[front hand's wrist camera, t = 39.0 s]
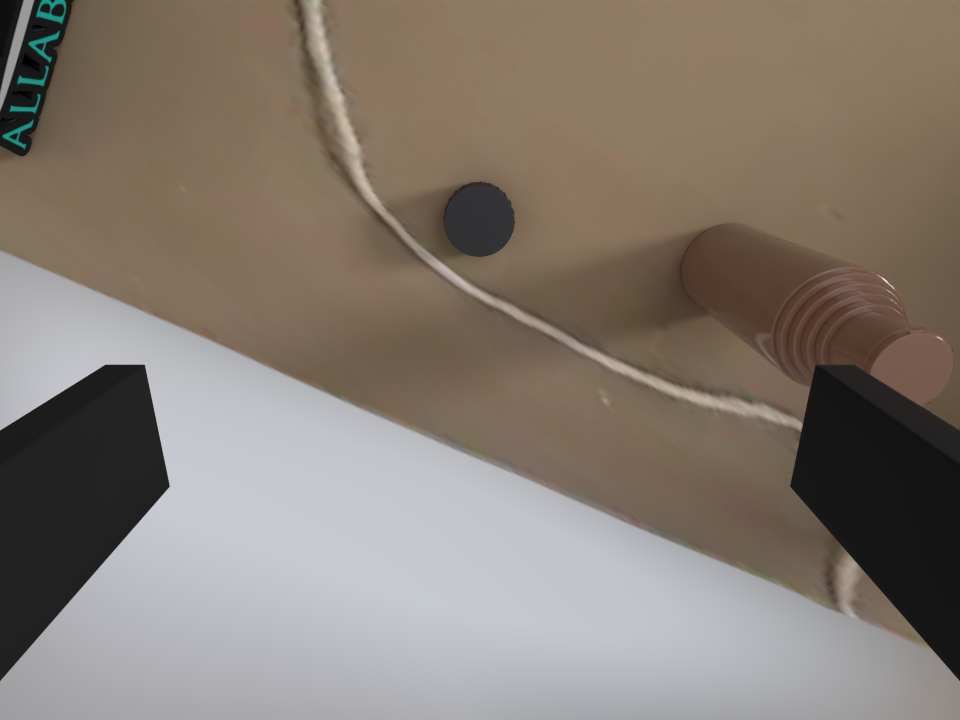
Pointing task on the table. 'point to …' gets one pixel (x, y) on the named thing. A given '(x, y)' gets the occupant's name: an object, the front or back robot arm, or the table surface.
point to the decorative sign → (27, 64)
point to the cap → (479, 219)
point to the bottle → (812, 311)
